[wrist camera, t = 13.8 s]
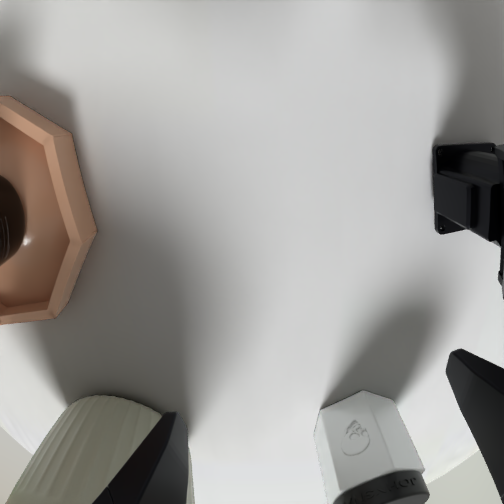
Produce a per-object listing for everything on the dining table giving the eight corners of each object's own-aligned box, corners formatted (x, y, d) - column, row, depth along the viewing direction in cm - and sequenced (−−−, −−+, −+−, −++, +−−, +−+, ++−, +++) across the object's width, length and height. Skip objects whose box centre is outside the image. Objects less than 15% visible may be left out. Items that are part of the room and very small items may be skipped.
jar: (383, 376, 26) (432, 480, 15) (399, 416, 29) (436, 502, 18) (297, 416, 27) (317, 526, 16) (325, 449, 30) (346, 539, 19)
